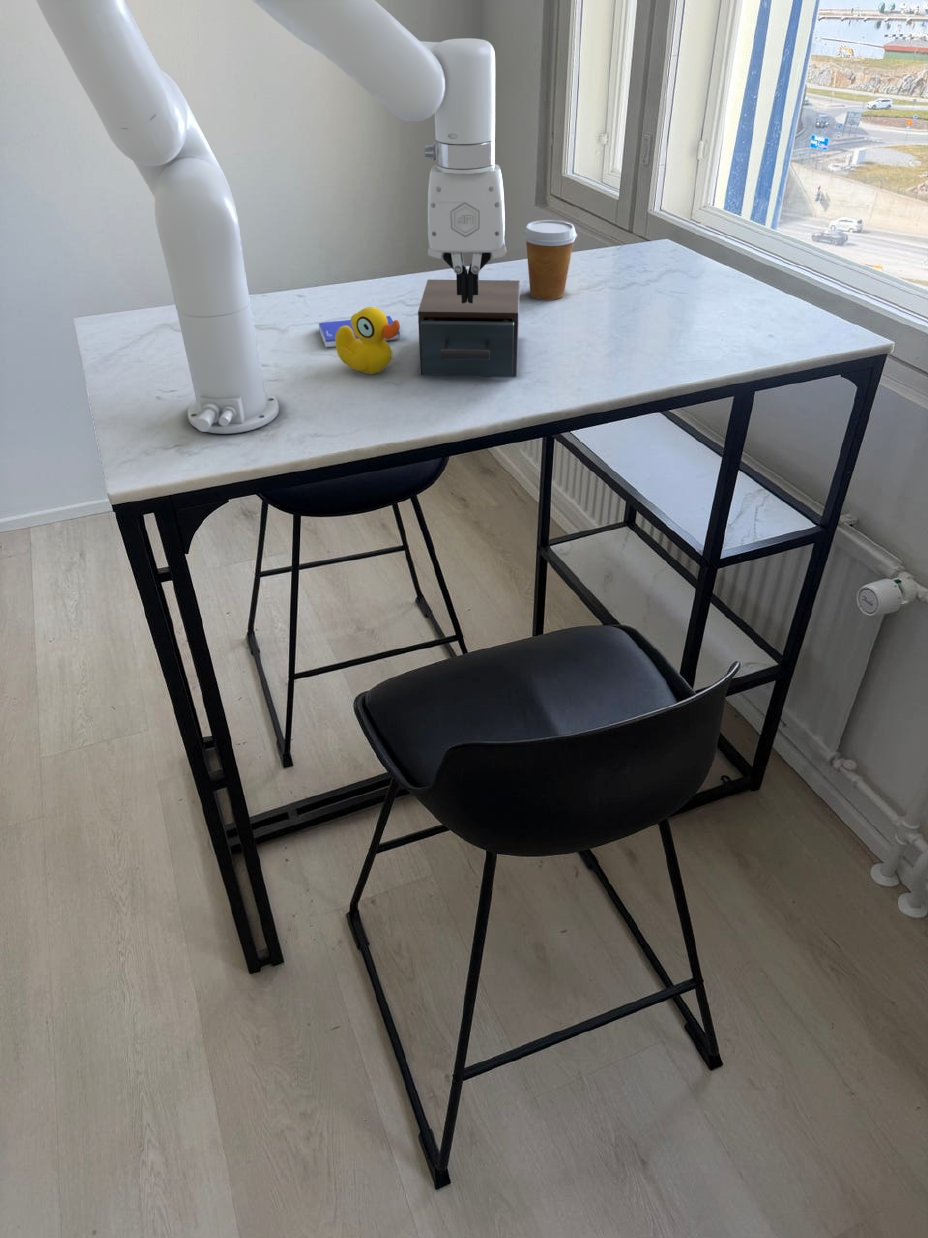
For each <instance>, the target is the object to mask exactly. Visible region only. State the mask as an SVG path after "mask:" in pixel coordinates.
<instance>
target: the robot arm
mask: <svg viewBox="0 0 928 1238" xmlns="http://www.w3.org/2000/svg"><path fill="white" fill-rule="evenodd" d="M251 1H252V2H253V3H255V4H256V5H257V6H258V7H259V8H261V9H262V10H263V11H264V12H265V13H266V14H268V15H269V16H270V17H271V18H272V19H273V20H274V21H275V22H277V23H278V24H279V25H280V26H282V27H283V28H284V29H285V30H287V31H288V32H289V33H290V34H291V35H293V36H294V37H295V38H297V39H298V40H300V41H301V42H303V43H304V44H306V45H308V46H309V47H311V48H313V49H314V50H315V51H317V52H319V53H320V54H321V55H323V56H325V58H326V59H328V60H329V61H330V62H332V63H333V64H334V65H335V66H336V67H338V68H339V69H340V70H342V72H343V73H345V74H346V75H348V76H349V78H352V80H354V82H355V83H356V84H358V85H359V86H361V87H362V88H363V89H364V90H365V91H366V92H367V93H369V94H370V96H372V97H374V98H375V99H376V101H377V102H378V103H379V104H380V105H381V106H383V107H384V108H385V109H387V110H388V111H389V112H391V113H392V114H393V115H394V116H395V117H397V118H398V119H400V120H402V121H405V122H408V123H409V122H410V123H418V122H423V121H426V120H428V119H429V118H431V117H432V116H433V115H434V133H435V134H434V135H435V140H434V142H433V143H430V145H424V157H425V158H430V159H433V162H434V161H435V165H433V166H432V167H431V168H430V172H429V178H428V190H427V238H428V248H427V255H428V257H429V258H434V259H437V260H442V261H444V262H445V263H446V264H447V265H448V266H449V267H450V268H451V269H452V270H453V272H454V273H455V274H456V279H455V280H457V295H461V297H462V303H466V302H467V298H468V302H469V303H473V300H474V295H478V293H479V280H480V279H479V278H480V277H479V274H480V272H481V270H482V269H483V268H484V267H485V266H486V265H487V264H488V263H489V262H490V261H492V260H497V259H501V258H504V257H506V255H507V246H506V241H505V232H506V231H505V229H506V228H505V227H506V217H505V194H504V183H503V177H502V176H503V175H502V170H501V166H500V165H499V164H497V163H496V52H495V49H494V47H493V45H492V43H491V42H490V41H488V40H486V39H481V38H473V37H472V38H471V37H467V38H466V37H465V38H462V37H461V38H450V39H446V40H442V41H441V42H440V41H423V40H422V41H421V40H419V39H418V38H417V37H416V36H415V35H414V34H413V33H411V32H410V31H409V30H408V29H407V28H406V27H405V26H404V25H403V24H401V23H400V22H399V20H397V19H396V18H395V17H394V16H393V15H392V14H391V13H389V12H388V11H387V10H386V9H385V8H384V7H383V6H382V5H380V3H378V2H377V1H376V0H251ZM36 3H37V5H38V7H39V9H40V12H41V13H42V15H43V17H44V20H45V21H46V23H47V25H48V27H49V28H50V30H51V32H52V34H53V36H54V38H55V39H56V41H57V43H58V45H59V47H60V48H61V50H62V52H63V54H64V56H65V58H66V59H67V61H68V63H69V66H70V67H71V70H72V71H73V73H74V75H75V76H76V78H77V80H78V82H79V83H80V85H81V87H82V89H83V90H84V92H85V94H86V95H87V98H88V99H89V101H90V103H91V105H92V106H93V108H94V110H95V111H96V113H97V115H98V117H99V119H100V120H101V123H102V124H103V126H104V128H105V131H106V133H107V134H108V136H109V138H110V140H111V141H112V143H113V144H114V146H115V147H116V148H117V150H119V151H120V152H121V153H122V154H123V155H124V156H125V157H126V158H129V159H130V160H131V161H133V163H134V165H135V167H136V168H137V170H138V172H139V174H140V175H141V177H142V179H143V180H144V182H145V184H146V185H147V187H148V189H149V191H150V192H151V194H152V196H153V198H154V216H155V217H154V218H155V224H156V229H157V234H158V238H159V242H160V247H161V251H162V254H163V257H164V261H165V266H166V270H167V275H168V279H169V283H170V287H171V292H172V297H173V301H174V306H175V309H176V313H177V317H178V322H179V327H180V332H181V336H182V340H183V341H182V342H183V346H184V350H185V355H186V360H187V365H188V368H189V374H190V377H191V382H192V383H191V384H192V387H193V392H194V396H195V401H194V402H193V403H192V404H191V405H190V406H189V407H188V409H187V418H188V422H189V424H190V425H191V426H193V428H196V429H197V430H198V431H200V432H202V433H210V434H218V435H219V434H220V435H222V434H223V435H225V434H226V435H229V434H231V435H232V434H240V433H245V432H249V431H254V430H257V429H259V428H261V427H264V426H266V425H268V424H269V423H271V422H272V421H273V420H274V419H275V418H276V417H277V416H278V414H279V411H280V407H279V406H280V405H279V402H278V400H277V398H276V397H275V396H273V395H272V394H270V393H268V392H266V390H265V384H264V378H263V377H264V376H263V371H262V365H261V361H260V360H261V358H260V352H259V346H258V341H257V334H256V328H255V321H254V315H253V309H252V302H251V298H250V293H249V285H248V279H247V274H246V267H245V259H244V253H243V246H242V239H241V230H240V229H241V228H240V222H239V216H238V212H237V211H238V210H237V208H236V203H235V200H234V195H233V194H232V191H231V187H230V184H229V182H228V179H227V177H226V175H225V173H224V171H223V170H222V168H221V166H220V164H219V162H218V160H217V158H216V156H215V154H214V152H213V150H212V148H211V146H210V144H209V142H208V140H207V139H206V137H205V135H204V133H203V131H202V128H201V127H200V125H199V123H198V121H197V119H196V117H195V115H194V113H193V112H192V109H191V107H190V106H189V104H188V101H187V100H186V98H185V96H184V94H183V93H182V91H181V89H180V87H179V86H178V85H177V83H176V82H175V81H174V79H172V78H171V76H170V75H169V74H167V72H165V71H163V70H162V69H161V68H160V65H159V64H158V62H157V61H156V59H155V57H154V55H153V53H152V51H151V50H150V48H149V46H148V44H147V42H146V41H145V39H144V36H143V34H142V32H141V29H140V27H139V25H138V23H137V21H136V19H135V17H134V15H133V14H132V12H131V10H130V9H129V7H128V4H127V3H126V0H36ZM463 253H465V254H467V253H468V254H469V253H470V254H471V253H472V260H471V263H470V264H469V267H468V268H467V265H466V264H465V262H464V256H463Z"/></svg>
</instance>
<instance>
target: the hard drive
mask: <svg viewBox="0 0 928 1238" xmlns="http://www.w3.org/2000/svg"><path fill="white" fill-rule="evenodd" d="M386 317H387V320H388V324H393V322H394V320H393V318H392V317H391V316H390V315H386ZM345 325H347V326H349V327H350V328H351V329H352V331H353V333H354V330H353V327H352V325H351V319H346V320H345V319H344V320H334V321H324V322H318V331H319V334H320V336H321V338H322V341H323V343H324V345H325V348H332V347H336V342H335V336H336V333H337V331H338V329H339V328H340V327H342V326H345ZM400 334H401V333H400V331H399V332H398V334H397V335H396V336H395V337H393V338H390V339H386V338H384V340H385V341H386V342H389V341H397V340H401V335H400ZM354 335H355V333H354ZM355 338H356V339H357V340H360V339H359V338H358V337H357V336H356V335H355ZM360 341H361V340H360ZM361 342H362V341H361Z"/></svg>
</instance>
